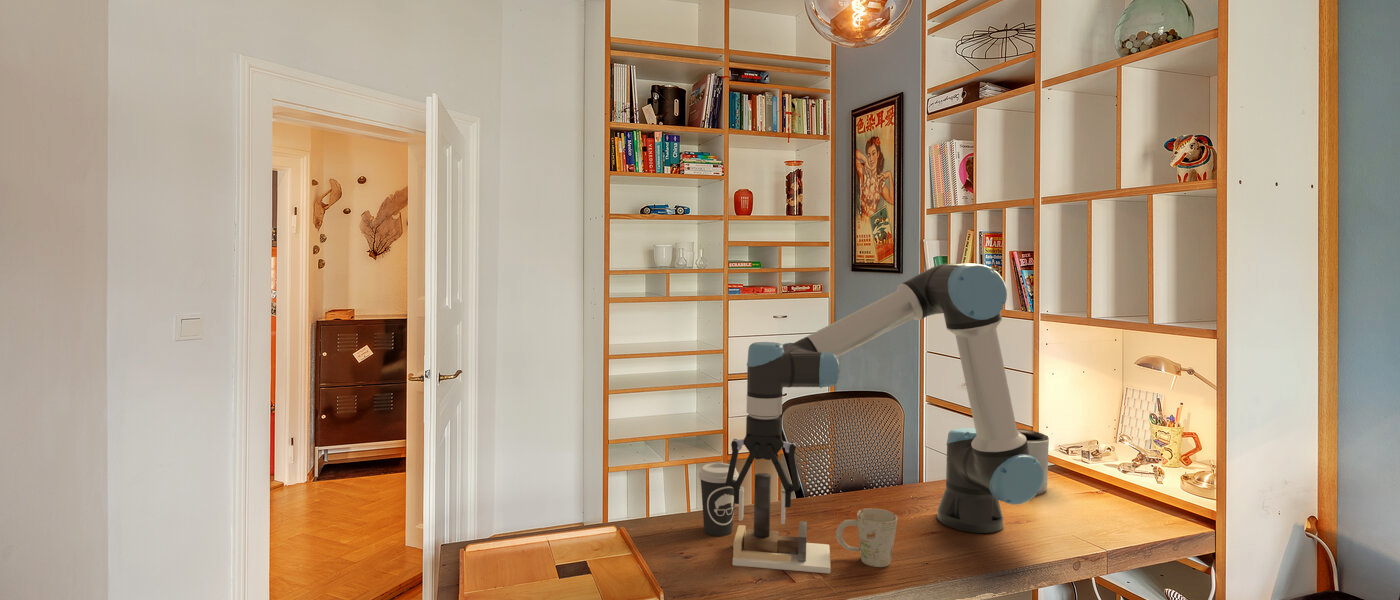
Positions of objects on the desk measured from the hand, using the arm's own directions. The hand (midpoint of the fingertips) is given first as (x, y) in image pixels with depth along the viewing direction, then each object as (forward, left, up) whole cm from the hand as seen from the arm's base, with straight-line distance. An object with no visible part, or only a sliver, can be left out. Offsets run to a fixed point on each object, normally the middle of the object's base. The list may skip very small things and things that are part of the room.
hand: (761, 519), depth 150 cm
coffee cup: (+11, -12, -8) cm, 18 cm away
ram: (-3, 0, -6) cm, 7 cm away
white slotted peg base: (-5, 0, -8) cm, 9 cm away
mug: (-22, -2, -8) cm, 23 cm away
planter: (-68, -61, -8) cm, 92 cm away
